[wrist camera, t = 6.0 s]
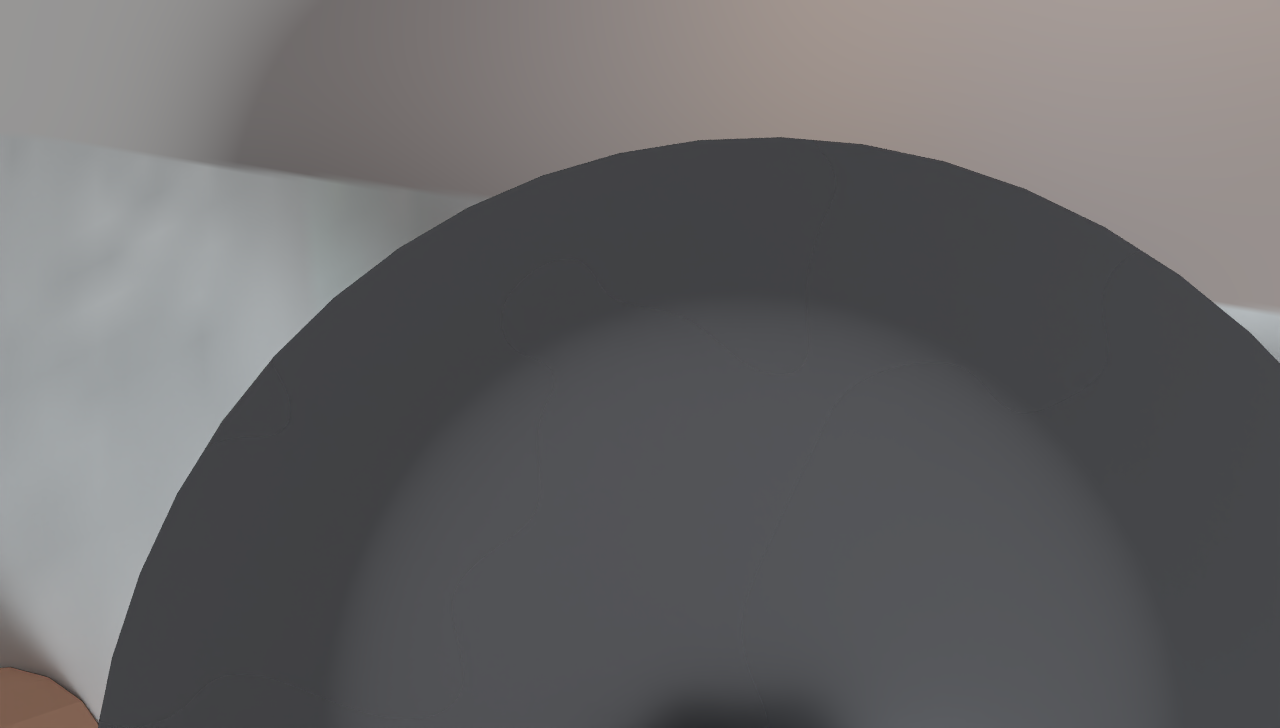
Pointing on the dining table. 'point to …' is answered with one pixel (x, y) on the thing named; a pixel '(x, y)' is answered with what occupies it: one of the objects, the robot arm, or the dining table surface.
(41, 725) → the pepper shaker
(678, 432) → the brass-banded metal cylinder
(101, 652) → the dining table surface
